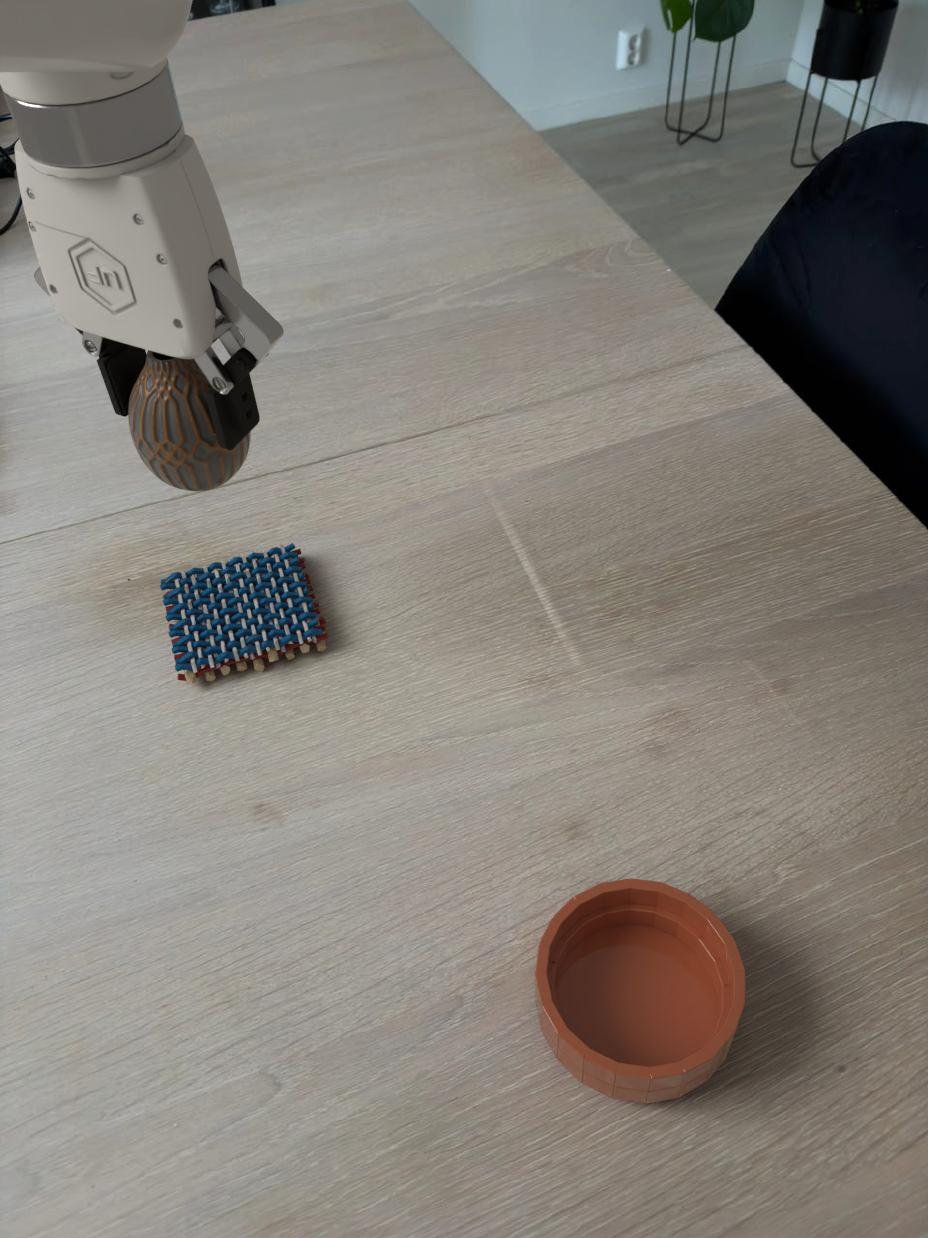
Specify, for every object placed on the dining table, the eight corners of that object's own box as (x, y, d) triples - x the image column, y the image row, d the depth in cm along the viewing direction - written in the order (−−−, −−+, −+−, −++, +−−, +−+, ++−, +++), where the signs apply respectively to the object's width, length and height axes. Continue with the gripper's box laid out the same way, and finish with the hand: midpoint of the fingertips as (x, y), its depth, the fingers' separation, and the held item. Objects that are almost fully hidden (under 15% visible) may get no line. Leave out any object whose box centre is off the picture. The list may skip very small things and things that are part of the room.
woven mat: (335, 653, 75) (330, 633, 74) (182, 694, 74) (174, 675, 72) (303, 553, 82) (299, 534, 81) (162, 589, 80) (155, 570, 79)
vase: (162, 522, 64) (120, 400, 58) (136, 455, 69) (94, 335, 62) (274, 486, 66) (245, 364, 60) (242, 423, 70) (212, 303, 64)
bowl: (695, 1144, 53) (705, 1117, 50) (503, 1049, 57) (501, 1018, 54) (760, 961, 59) (772, 927, 56) (583, 885, 63) (585, 850, 60)
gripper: (-95, 116, 52) (33, 418, 65) (197, 180, 46) (274, 498, 59) (15, 57, 56) (115, 351, 70) (295, 108, 50) (346, 419, 64)
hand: (187, 416), depth 64 cm, fingers closed on vase, 6 cm apart
